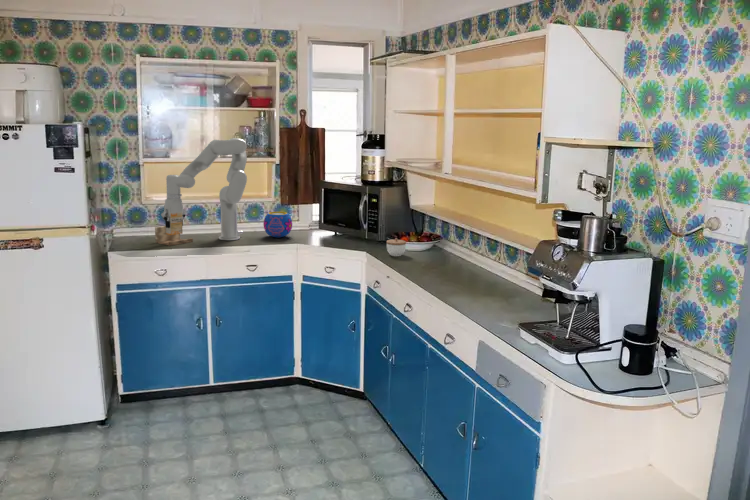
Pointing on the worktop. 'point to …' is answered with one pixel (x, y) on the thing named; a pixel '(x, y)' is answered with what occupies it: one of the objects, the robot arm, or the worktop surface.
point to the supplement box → (175, 224)
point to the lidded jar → (396, 247)
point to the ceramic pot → (277, 224)
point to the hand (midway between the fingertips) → (174, 226)
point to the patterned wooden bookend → (168, 237)
